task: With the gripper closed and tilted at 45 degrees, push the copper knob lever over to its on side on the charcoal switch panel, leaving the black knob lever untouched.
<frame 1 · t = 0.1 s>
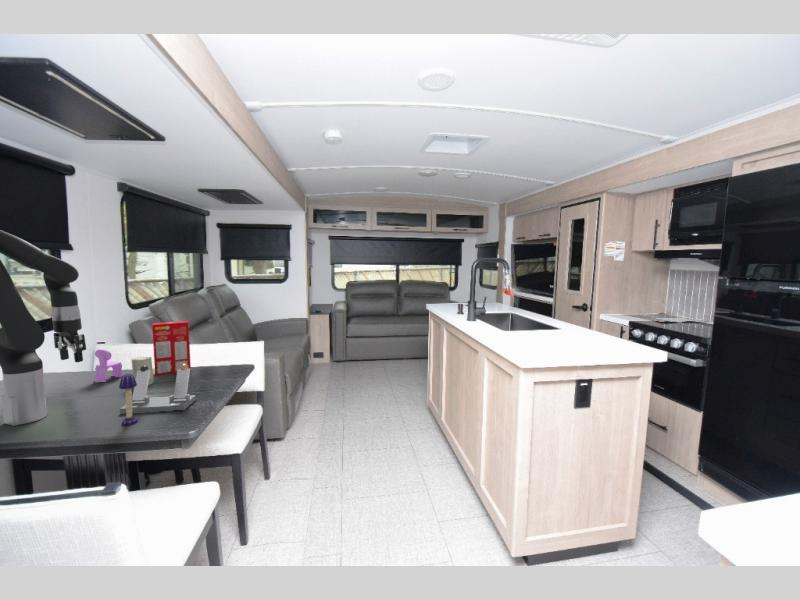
hand: (71, 360, 128), 17 cm above the table, tool pointing down, fingers open, 8 cm apart
copper knob lever: (182, 381, 132), point 9 cm above the table, hinge at -24.0°
food packaging: (173, 372, 171), on the table
toy chair: (108, 379, 159), on the table
toy lamp: (130, 423, 115), on the table
skincare box: (143, 385, 152), on the table
black knob lever: (141, 383, 129), point 9 cm above the table, hinge at -24.0°
switch panel: (159, 406, 128), on the table
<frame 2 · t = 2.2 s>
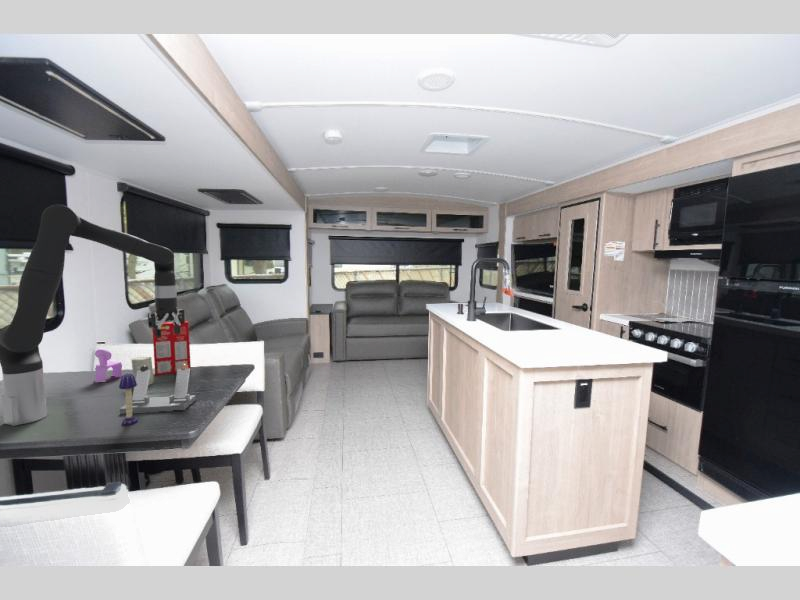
hand: (168, 335, 142), 24 cm above the table, tool pointing down, fingers open, 7 cm apart
nothing on the table moved.
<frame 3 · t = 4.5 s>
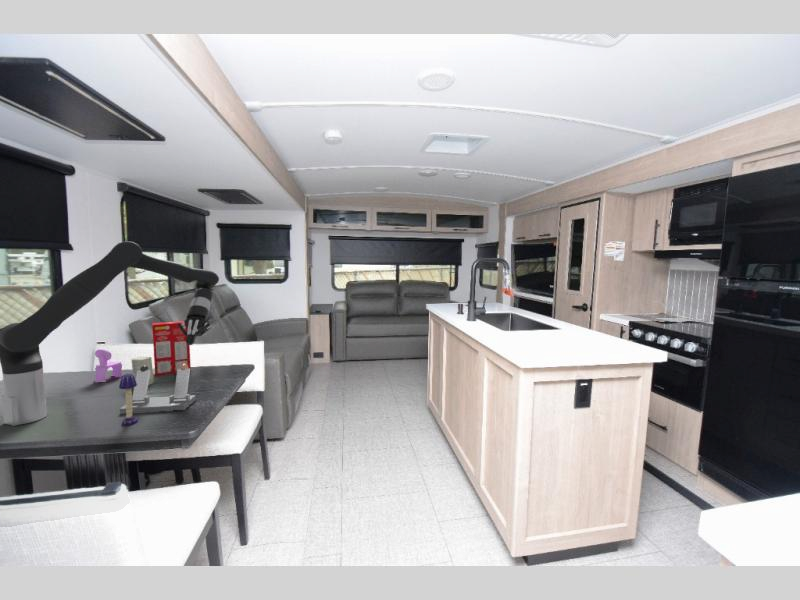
hand: (189, 344, 139), 21 cm above the table, tool tilted 45°, fingers closed
nothing on the table moved.
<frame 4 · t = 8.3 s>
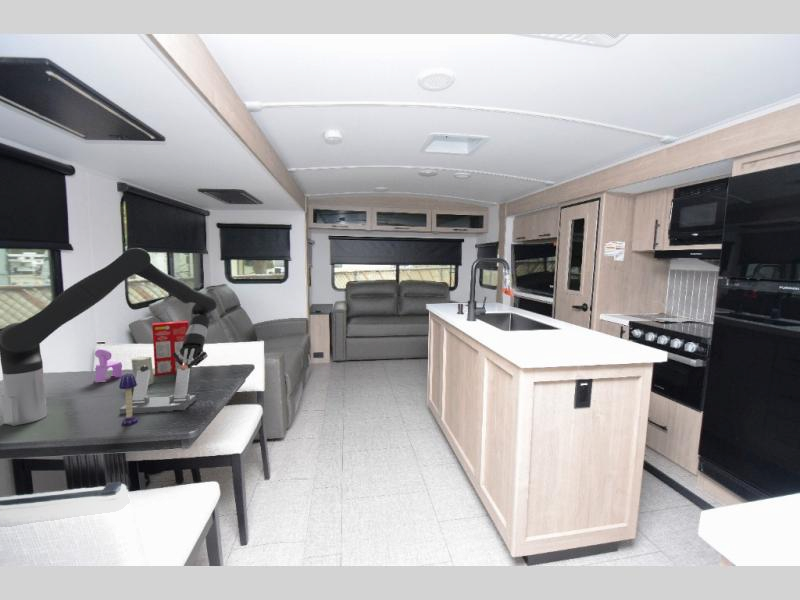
hand: (184, 374, 134), 11 cm above the table, tool tilted 45°, fingers closed
copper knob lever: (182, 381, 132), point 9 cm above the table, hinge at -23.7°, touching gripper
everything else where it was.
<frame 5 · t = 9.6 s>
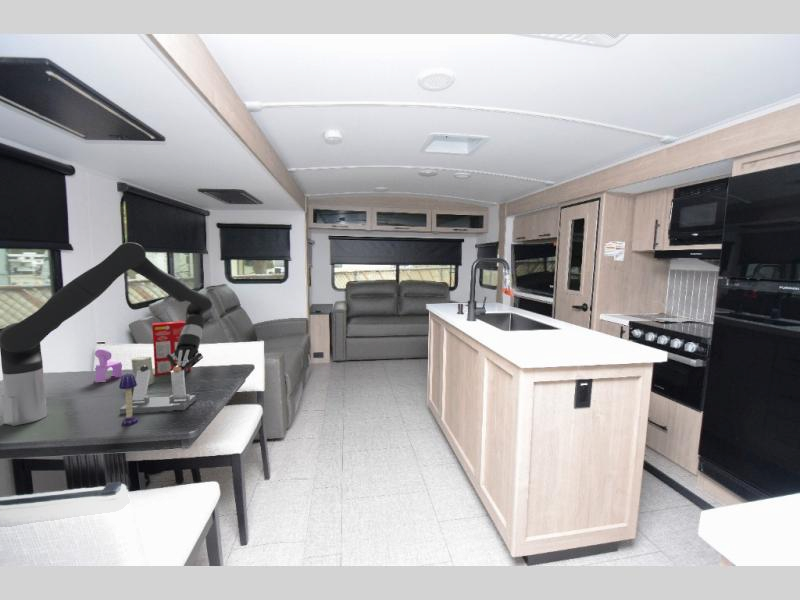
hand: (179, 376, 129), 11 cm above the table, tool tilted 45°, fingers closed
copper knob lever: (178, 382, 128), point 9 cm above the table, hinge at 4.5°, touching gripper
everything else where it was.
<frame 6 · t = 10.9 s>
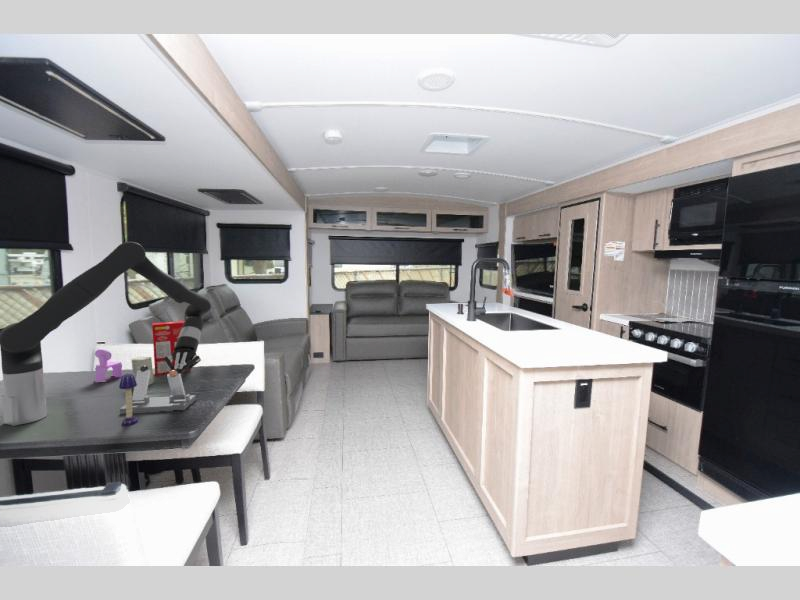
hand: (176, 379, 127), 11 cm above the table, tool tilted 45°, fingers closed
copper knob lever: (176, 385, 127), point 9 cm above the table, hinge at 19.5°, touching gripper
everything else where it was.
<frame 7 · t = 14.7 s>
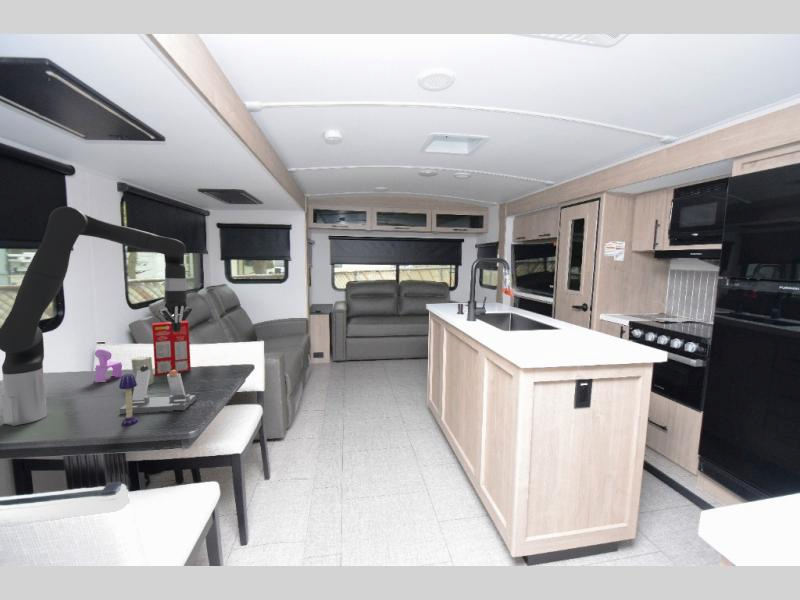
hand: (176, 331, 140), 26 cm above the table, tool pointing down, fingers closed
copper knob lever: (176, 385, 127), point 9 cm above the table, hinge at 19.6°
everything else where it was.
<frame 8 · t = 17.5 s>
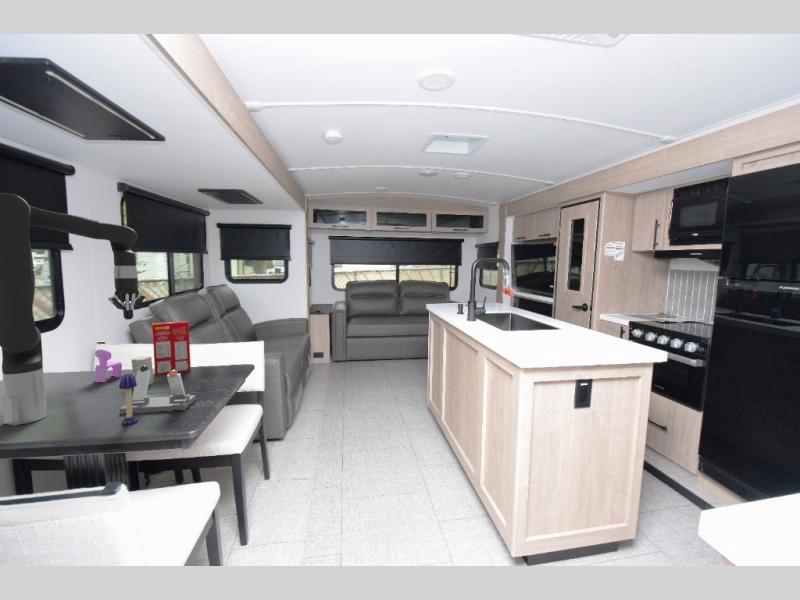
hand: (128, 319, 140), 31 cm above the table, tool pointing down, fingers closed
nothing on the table moved.
at the end: copper knob lever at +20° (first picture: -24°); black knob lever at -24° (first picture: -24°) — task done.
